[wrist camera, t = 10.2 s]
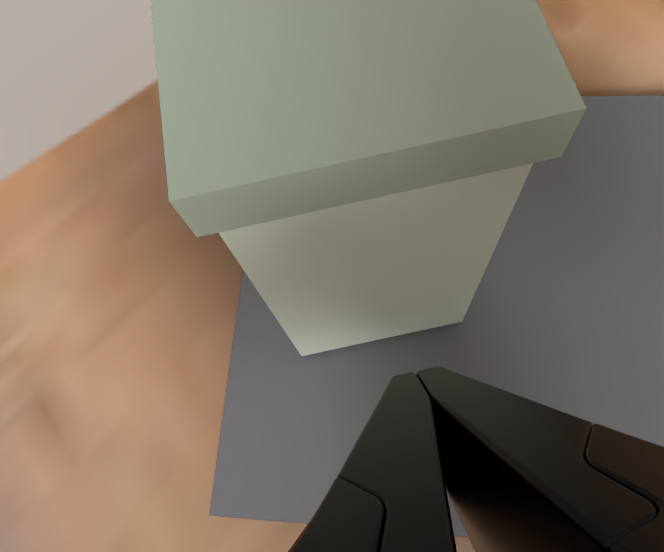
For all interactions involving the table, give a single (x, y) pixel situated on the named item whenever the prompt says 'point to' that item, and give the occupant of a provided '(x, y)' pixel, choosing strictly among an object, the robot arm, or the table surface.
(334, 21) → the sage green canister
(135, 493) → the table surface
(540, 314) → the board
